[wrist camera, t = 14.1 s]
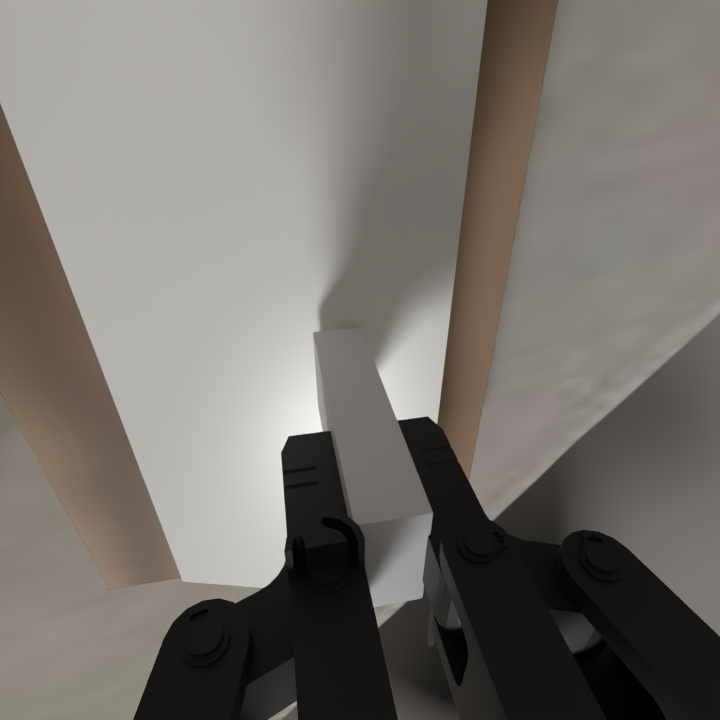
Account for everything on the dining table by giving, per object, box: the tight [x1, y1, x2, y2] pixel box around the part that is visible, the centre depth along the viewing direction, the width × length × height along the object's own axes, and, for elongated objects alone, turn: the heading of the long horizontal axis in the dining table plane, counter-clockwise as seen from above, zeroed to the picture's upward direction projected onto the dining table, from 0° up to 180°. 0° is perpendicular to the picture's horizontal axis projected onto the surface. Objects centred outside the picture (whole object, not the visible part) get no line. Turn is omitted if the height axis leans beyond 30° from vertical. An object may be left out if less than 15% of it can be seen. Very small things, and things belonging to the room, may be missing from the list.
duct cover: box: [0, 0, 488, 600], centre depth 15 cm, size 11×26×1 cm, turn 0°
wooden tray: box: [0, 0, 558, 590], centre depth 18 cm, size 18×28×5 cm, turn 0°
